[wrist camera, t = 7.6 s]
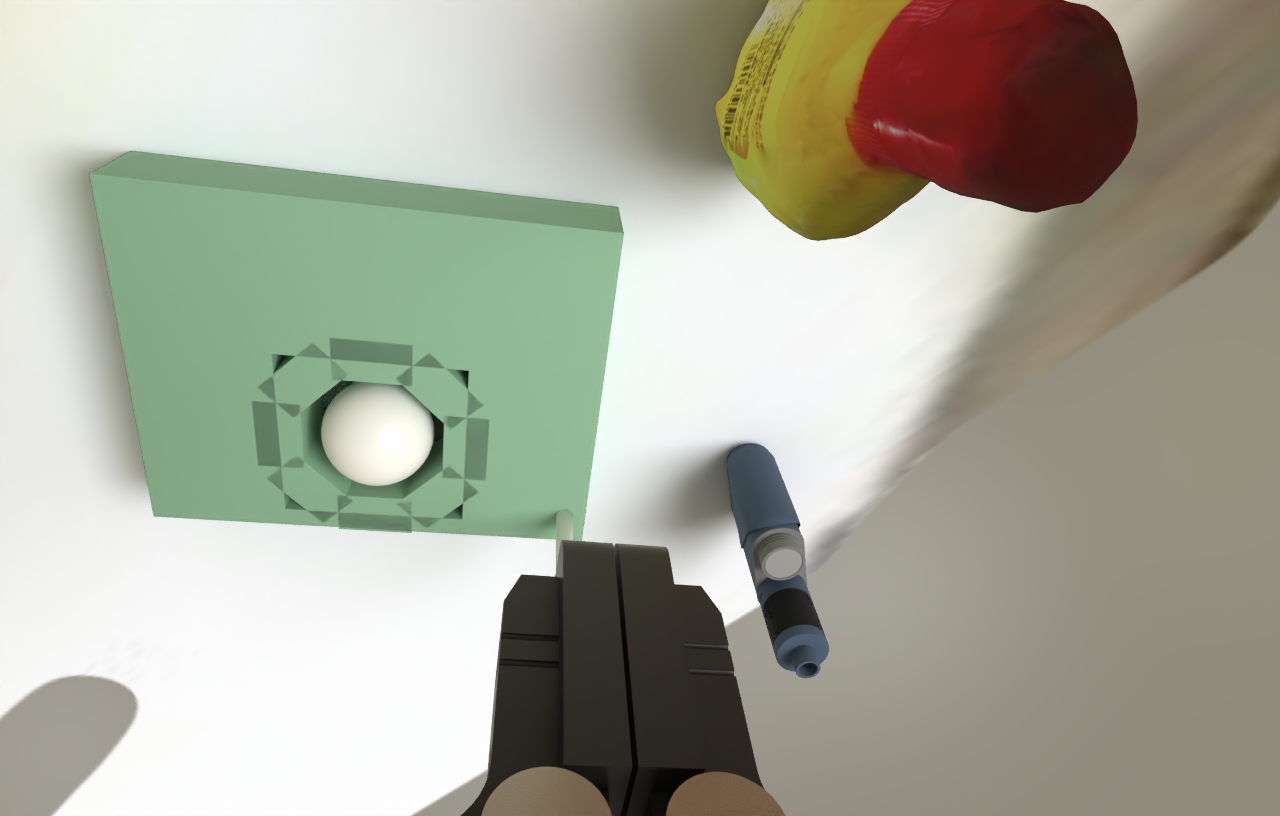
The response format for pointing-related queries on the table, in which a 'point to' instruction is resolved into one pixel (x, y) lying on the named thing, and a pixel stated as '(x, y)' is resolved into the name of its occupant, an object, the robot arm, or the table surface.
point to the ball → (377, 433)
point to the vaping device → (776, 558)
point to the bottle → (924, 107)
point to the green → (357, 341)
